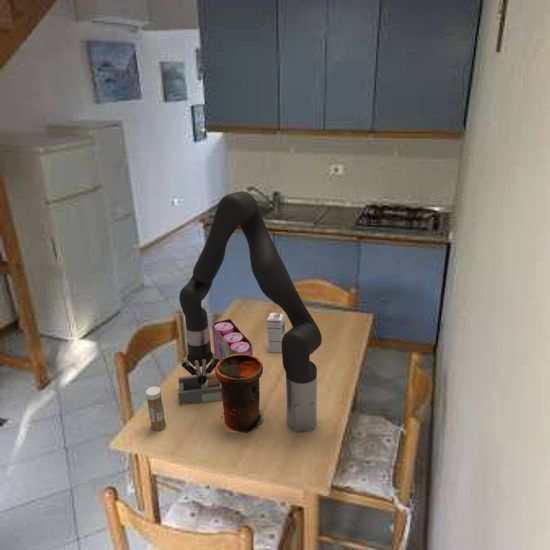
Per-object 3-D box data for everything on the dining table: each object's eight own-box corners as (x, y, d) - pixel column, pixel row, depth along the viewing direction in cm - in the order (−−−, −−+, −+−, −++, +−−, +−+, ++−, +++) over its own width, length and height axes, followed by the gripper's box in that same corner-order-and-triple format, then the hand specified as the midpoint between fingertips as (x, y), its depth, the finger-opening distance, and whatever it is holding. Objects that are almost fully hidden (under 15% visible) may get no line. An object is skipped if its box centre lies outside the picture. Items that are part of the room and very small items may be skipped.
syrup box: (282, 353, 190) (282, 320, 184) (267, 352, 191) (266, 318, 186) (285, 345, 195) (284, 313, 190) (271, 344, 196) (269, 312, 191)
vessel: (234, 399, 164) (231, 348, 156) (271, 412, 158) (271, 359, 150) (209, 425, 153) (205, 371, 145) (249, 440, 147) (247, 385, 138)
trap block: (220, 387, 166) (219, 379, 165) (208, 388, 165) (207, 381, 164) (219, 380, 170) (218, 372, 168) (207, 381, 169) (207, 374, 168)
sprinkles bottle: (166, 429, 152) (161, 393, 146) (151, 432, 150) (145, 396, 145) (165, 420, 156) (160, 384, 150) (150, 423, 155) (145, 387, 149)
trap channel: (244, 396, 166) (243, 385, 164) (179, 404, 162) (178, 393, 161) (241, 380, 174) (240, 369, 172) (179, 388, 171) (178, 377, 169)
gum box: (256, 380, 174) (255, 347, 169) (235, 386, 171) (233, 352, 166) (232, 348, 194) (230, 318, 189) (213, 353, 191) (210, 322, 186)
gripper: (177, 347, 155) (182, 392, 162) (219, 342, 157) (222, 387, 164) (177, 335, 162) (182, 379, 169) (217, 331, 164) (221, 375, 171)
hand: (202, 383), depth 166 cm, fingers closed
